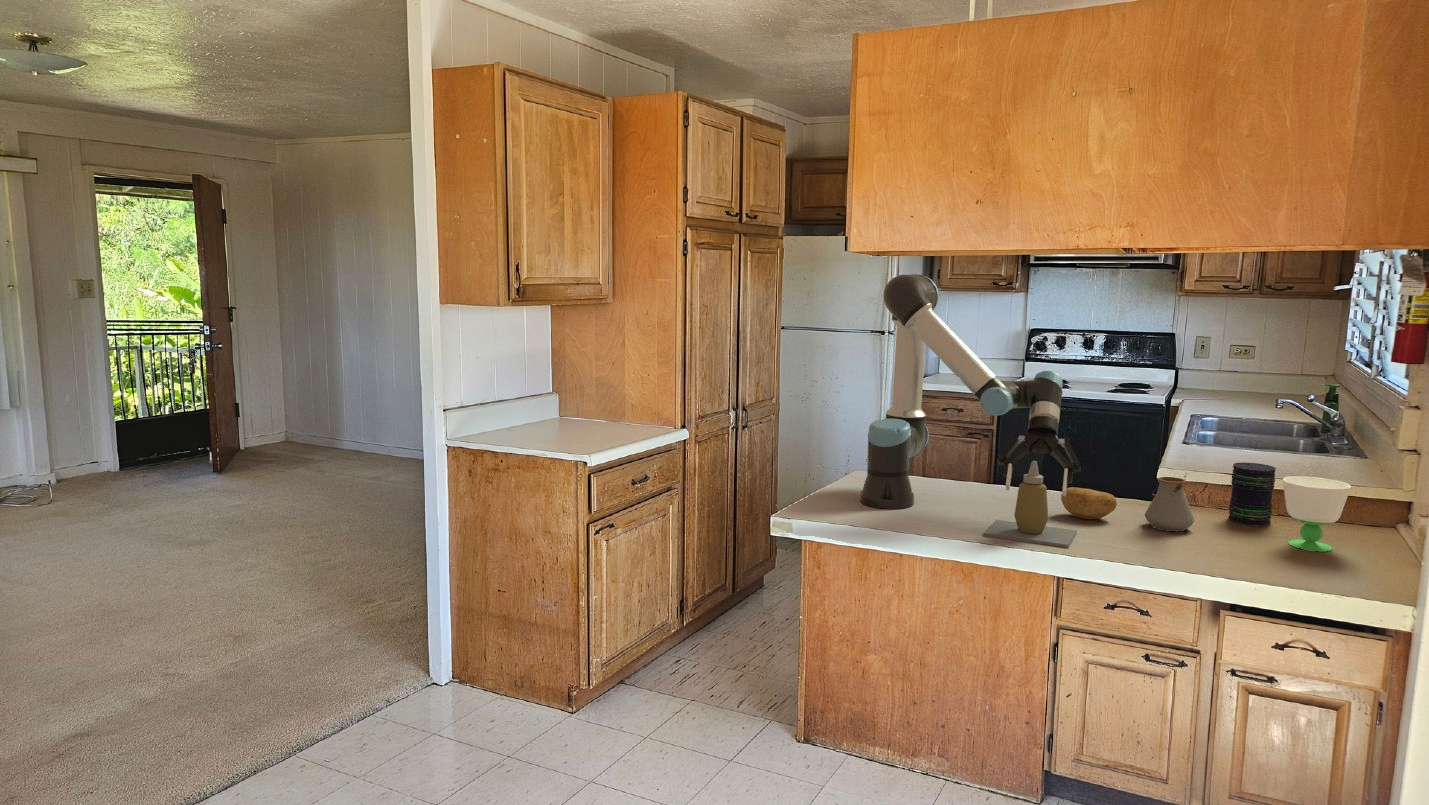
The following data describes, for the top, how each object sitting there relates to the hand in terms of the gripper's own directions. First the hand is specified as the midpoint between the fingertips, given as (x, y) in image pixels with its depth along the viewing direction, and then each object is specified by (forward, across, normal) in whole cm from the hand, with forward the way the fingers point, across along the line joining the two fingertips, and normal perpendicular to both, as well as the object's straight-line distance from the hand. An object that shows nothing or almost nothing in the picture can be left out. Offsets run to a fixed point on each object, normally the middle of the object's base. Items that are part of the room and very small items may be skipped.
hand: (1035, 490), depth 227 cm
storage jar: (-16, -52, -32) cm, 63 cm away
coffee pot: (-1, -32, -17) cm, 36 cm away
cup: (-2, -62, -18) cm, 65 cm away
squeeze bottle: (+10, 0, -4) cm, 11 cm away
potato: (-5, -12, -21) cm, 25 cm away
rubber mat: (+10, 0, -5) cm, 11 cm away
